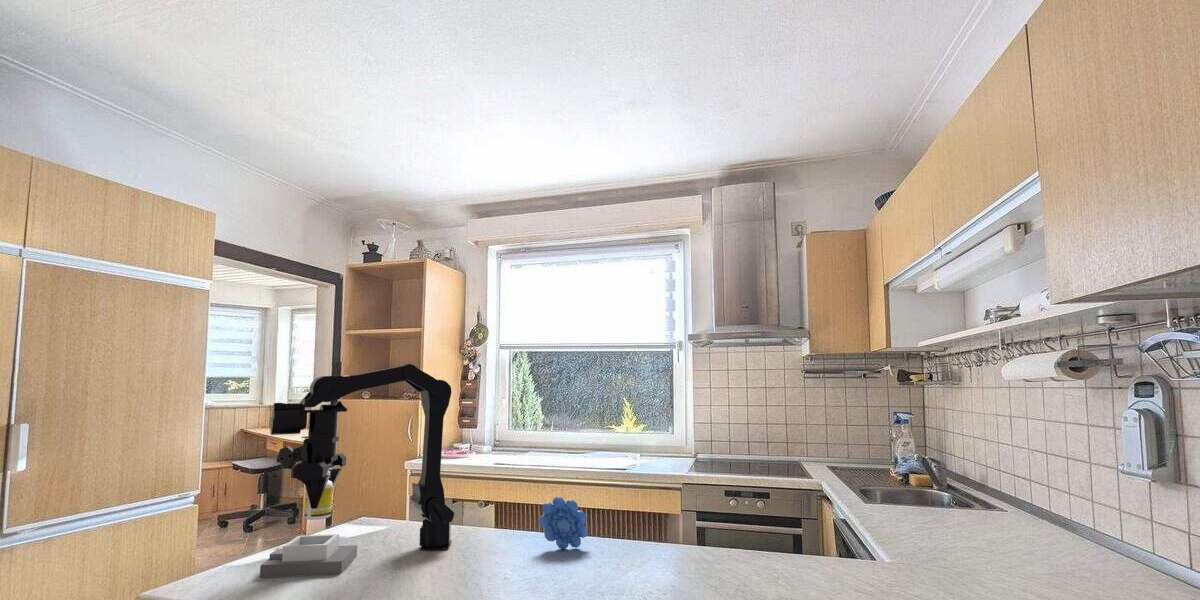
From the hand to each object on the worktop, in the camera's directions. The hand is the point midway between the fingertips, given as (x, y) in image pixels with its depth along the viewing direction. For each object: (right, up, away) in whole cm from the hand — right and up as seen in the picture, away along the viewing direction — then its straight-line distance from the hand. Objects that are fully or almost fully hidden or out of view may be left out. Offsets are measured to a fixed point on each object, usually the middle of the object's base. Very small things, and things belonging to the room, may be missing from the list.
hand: (318, 505), depth 132 cm
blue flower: (+53, -14, +9) cm, 56 cm away
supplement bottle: (0, -3, 0) cm, 3 cm away
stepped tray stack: (-1, -13, -1) cm, 13 cm away
